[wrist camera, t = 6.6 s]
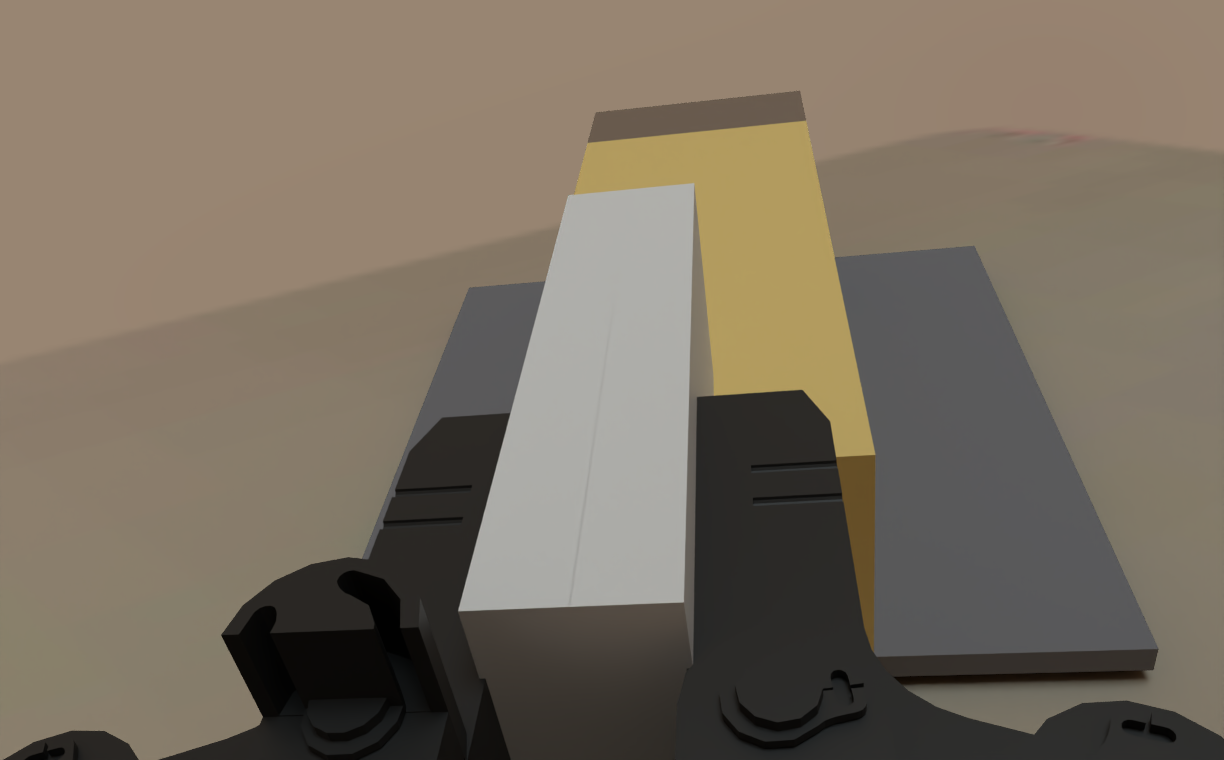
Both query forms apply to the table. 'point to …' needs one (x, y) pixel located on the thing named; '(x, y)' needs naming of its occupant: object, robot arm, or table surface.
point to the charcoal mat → (915, 472)
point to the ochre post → (758, 265)
